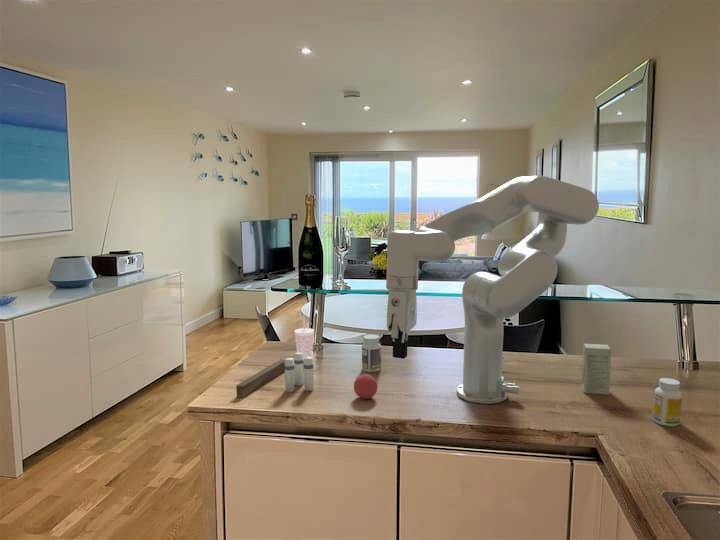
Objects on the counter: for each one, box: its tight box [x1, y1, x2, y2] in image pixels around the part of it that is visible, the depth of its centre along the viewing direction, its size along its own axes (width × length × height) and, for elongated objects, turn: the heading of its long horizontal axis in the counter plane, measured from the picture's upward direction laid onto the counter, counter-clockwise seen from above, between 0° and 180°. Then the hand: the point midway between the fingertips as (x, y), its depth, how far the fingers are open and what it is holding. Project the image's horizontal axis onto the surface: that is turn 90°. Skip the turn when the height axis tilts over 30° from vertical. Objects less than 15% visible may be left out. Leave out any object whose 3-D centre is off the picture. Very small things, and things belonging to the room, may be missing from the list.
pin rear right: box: [293, 351, 304, 387], centre depth 139 cm, size 2×2×8 cm
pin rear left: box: [284, 357, 296, 393], centre depth 135 cm, size 2×2×8 cm
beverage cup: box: [293, 314, 315, 360], centre depth 161 cm, size 6×6×14 cm
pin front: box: [303, 356, 315, 392], centre depth 136 cm, size 2×2×8 cm
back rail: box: [235, 359, 285, 398], centre depth 141 cm, size 2×22×3 cm, turn 159°
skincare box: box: [581, 343, 612, 395], centre depth 133 cm, size 6×4×12 cm
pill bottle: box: [361, 334, 382, 373], centre depth 151 cm, size 6×6×10 cm
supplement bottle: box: [651, 377, 683, 427], centre depth 116 cm, size 5×5×10 cm
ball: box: [353, 373, 379, 400], centre depth 130 cm, size 6×6×6 cm
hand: (399, 357), depth 125 cm, fingers closed
